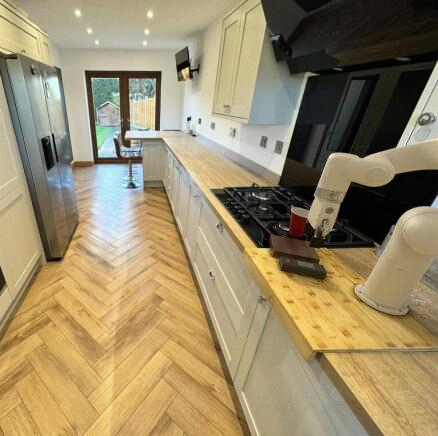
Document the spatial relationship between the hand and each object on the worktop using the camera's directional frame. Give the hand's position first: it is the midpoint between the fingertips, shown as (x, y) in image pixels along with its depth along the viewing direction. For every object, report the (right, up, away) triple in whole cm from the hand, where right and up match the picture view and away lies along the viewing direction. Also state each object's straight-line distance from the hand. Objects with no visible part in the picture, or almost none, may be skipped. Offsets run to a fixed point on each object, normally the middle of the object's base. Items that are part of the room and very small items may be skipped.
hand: (310, 240), depth 81 cm
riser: (+4, -7, +17) cm, 19 cm away
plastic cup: (+15, 0, +31) cm, 34 cm away
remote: (0, -12, +6) cm, 13 cm away
